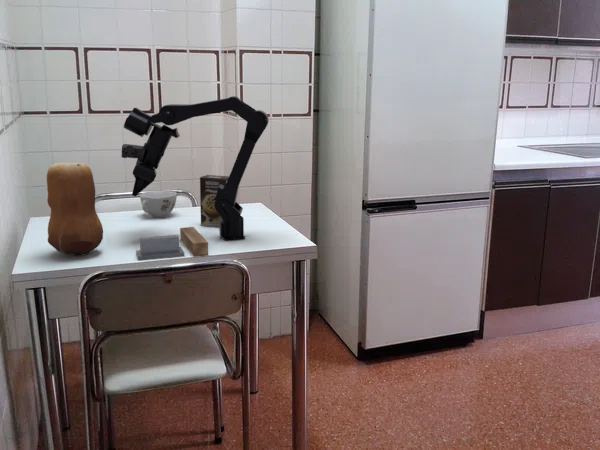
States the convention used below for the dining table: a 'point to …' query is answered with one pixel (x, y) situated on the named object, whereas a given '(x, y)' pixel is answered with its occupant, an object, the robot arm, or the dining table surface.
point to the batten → (194, 241)
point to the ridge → (159, 247)
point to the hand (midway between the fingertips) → (134, 191)
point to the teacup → (158, 202)
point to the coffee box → (210, 199)
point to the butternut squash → (72, 209)
